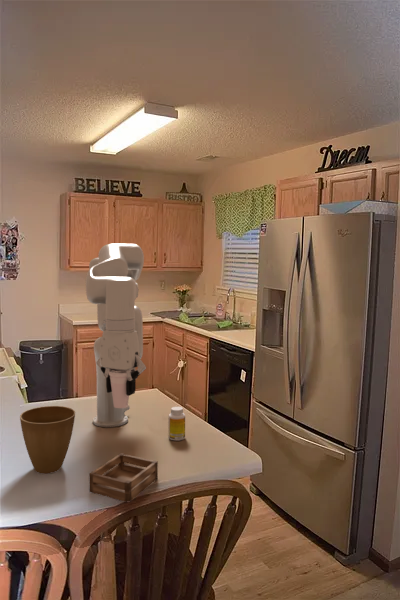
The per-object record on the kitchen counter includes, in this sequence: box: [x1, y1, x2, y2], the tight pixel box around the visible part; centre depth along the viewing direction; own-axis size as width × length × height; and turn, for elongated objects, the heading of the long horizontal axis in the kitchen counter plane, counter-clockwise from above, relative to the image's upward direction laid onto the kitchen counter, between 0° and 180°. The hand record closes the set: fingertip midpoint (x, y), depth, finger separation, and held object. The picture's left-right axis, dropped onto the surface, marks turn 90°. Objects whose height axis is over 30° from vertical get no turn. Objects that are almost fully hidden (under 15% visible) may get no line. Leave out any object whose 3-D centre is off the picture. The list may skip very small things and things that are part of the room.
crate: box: [88, 452, 159, 503], centre depth 126 cm, size 14×12×5 cm
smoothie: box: [109, 369, 132, 408], centre depth 127 cm, size 6×6×14 cm
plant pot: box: [19, 405, 76, 474], centre depth 136 cm, size 15×15×16 cm
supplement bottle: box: [167, 406, 186, 442], centre depth 159 cm, size 6×6×10 cm
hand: (120, 392), depth 128 cm, fingers closed on smoothie, 5 cm apart
